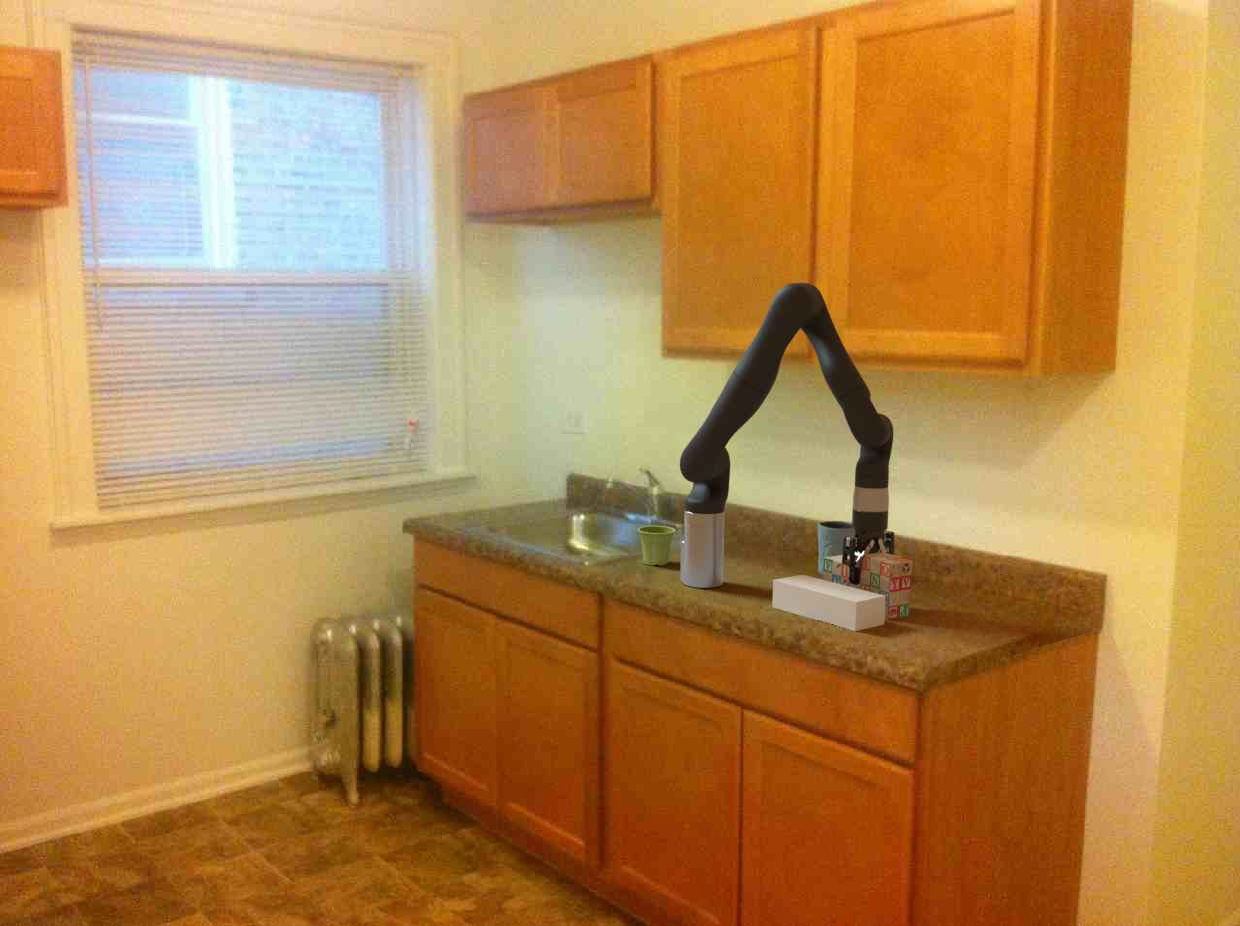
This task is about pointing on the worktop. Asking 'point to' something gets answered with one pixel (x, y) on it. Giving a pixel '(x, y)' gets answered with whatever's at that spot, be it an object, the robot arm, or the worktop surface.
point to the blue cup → (832, 539)
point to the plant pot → (656, 544)
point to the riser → (829, 602)
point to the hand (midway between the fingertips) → (867, 581)
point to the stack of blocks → (877, 579)
